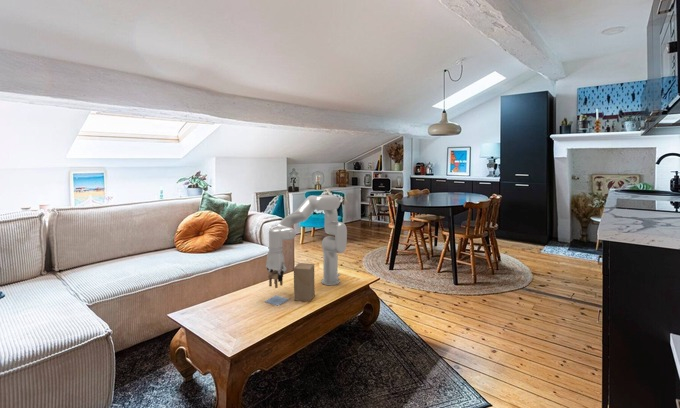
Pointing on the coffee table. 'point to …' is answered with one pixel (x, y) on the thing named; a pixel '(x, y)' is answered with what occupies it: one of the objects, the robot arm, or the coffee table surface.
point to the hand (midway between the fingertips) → (275, 279)
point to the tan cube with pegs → (274, 276)
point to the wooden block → (304, 282)
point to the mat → (276, 300)
